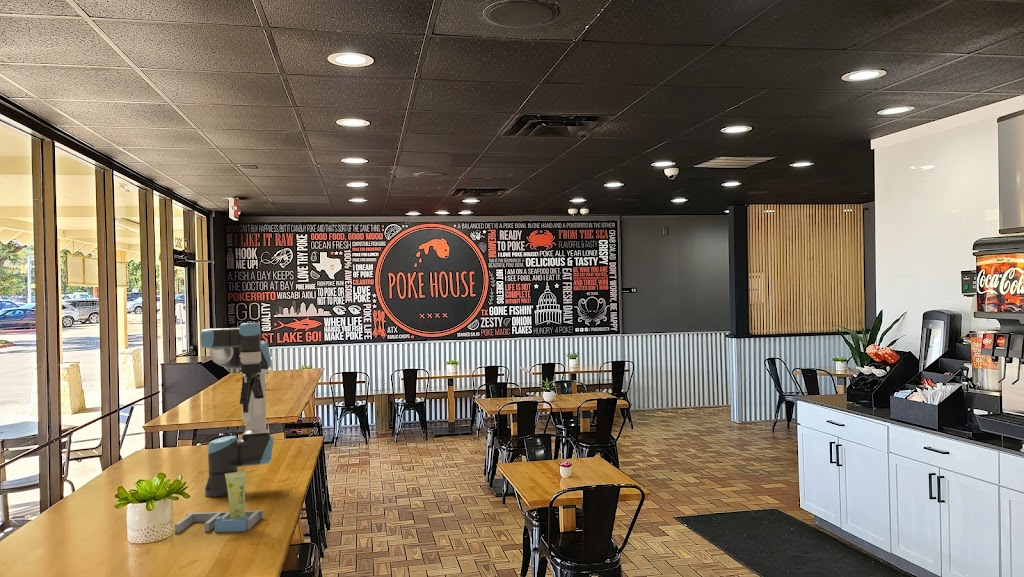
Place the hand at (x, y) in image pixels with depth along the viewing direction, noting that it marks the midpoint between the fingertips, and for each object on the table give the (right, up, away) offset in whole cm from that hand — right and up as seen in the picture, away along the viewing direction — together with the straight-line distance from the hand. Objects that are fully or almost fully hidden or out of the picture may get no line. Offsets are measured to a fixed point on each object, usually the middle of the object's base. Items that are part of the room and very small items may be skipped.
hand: (252, 418), depth 287 cm
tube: (0, -37, -15) cm, 40 cm away
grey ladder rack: (-7, -37, -14) cm, 40 cm away
